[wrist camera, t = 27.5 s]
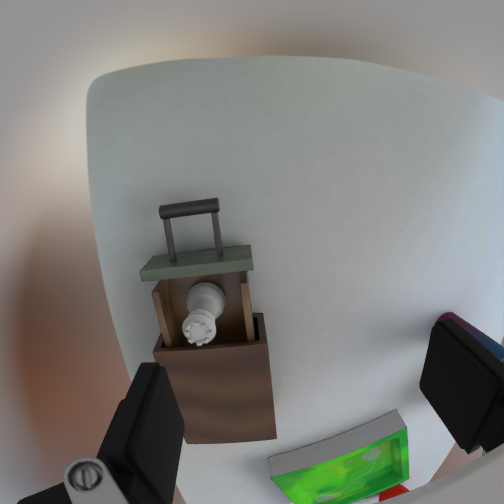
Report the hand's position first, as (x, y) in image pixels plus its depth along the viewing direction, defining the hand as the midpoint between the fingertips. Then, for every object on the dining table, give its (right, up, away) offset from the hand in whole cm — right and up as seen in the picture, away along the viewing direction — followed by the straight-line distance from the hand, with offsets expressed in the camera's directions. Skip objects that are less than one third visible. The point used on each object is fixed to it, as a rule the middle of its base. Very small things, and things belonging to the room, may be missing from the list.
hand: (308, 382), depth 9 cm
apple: (+35, -58, +45) cm, 81 cm away
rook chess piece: (-7, -1, +25) cm, 26 cm away
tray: (+17, -40, +39) cm, 59 cm away
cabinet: (-6, -12, +30) cm, 33 cm away
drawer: (-7, 0, +26) cm, 27 cm away
